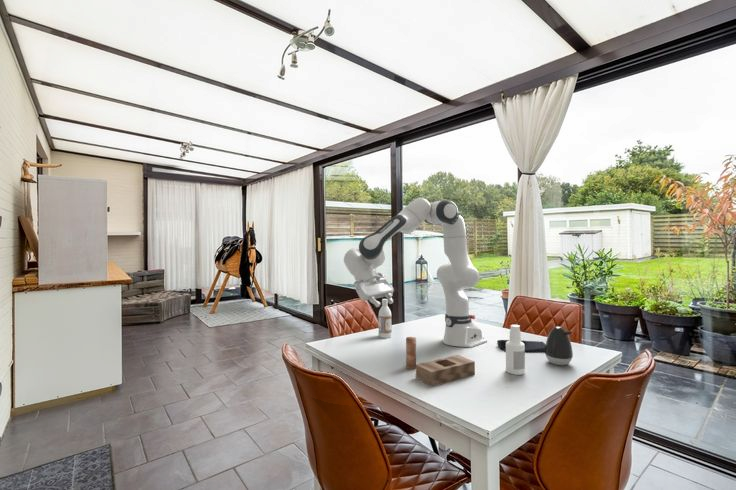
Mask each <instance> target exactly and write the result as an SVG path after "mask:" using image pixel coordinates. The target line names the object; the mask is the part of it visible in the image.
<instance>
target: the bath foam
mask: <svg viewBox="0 0 736 490" xmlns="http://www.w3.org/2000/svg"><path fill="white" fill-rule="evenodd" d="M388 304H389V302H388V298H382V300H381V307H380V309H379V311H378V315H377V316H378V319H377V320H378V338H381V339H390V338H392V336H393V334H392V329H393V328H392V327H393V326H392V321H393V320H392V311H391V309H390V307H389V306H388Z"/></svg>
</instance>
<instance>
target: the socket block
mask: <svg viewBox="0 0 736 490" xmlns="http://www.w3.org/2000/svg"><path fill="white" fill-rule="evenodd" d="M475 366H476V362H475V361H474V360H471V359H470V358H467V357H465V356H462V355H459V354H457V355H451V356H447V357H442V358H439V359H434V360H430V361H429V360H428V361H425V362H420V363H416V369H415V378H416V379H418V380H419V381H421V382H423V383H425V384H427V385H428V386H430V387H434V386H439V385H442V384H446V383H449V382H453V381H456V380H460V379H465V378H468V377H471V376H475V375H476V374H475V373H476V371H475V369H476V367H475Z"/></svg>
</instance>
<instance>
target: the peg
mask: <svg viewBox="0 0 736 490" xmlns="http://www.w3.org/2000/svg"><path fill="white" fill-rule="evenodd" d="M405 353H406V354H405V356H406V357H405V360H406V361H405V362H406V363H405V364H406V367H405V368H406V369H407V370H410V371H411V370H416V364H417V337H415V336H406V338H405Z"/></svg>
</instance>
